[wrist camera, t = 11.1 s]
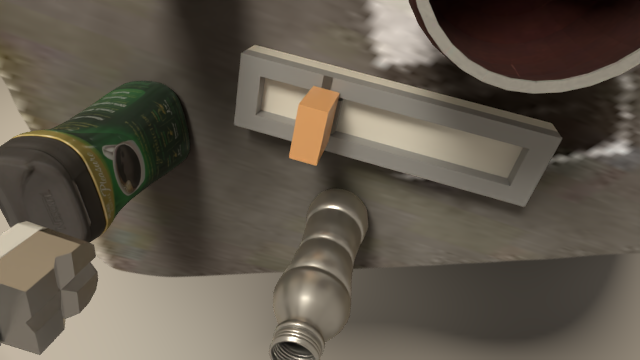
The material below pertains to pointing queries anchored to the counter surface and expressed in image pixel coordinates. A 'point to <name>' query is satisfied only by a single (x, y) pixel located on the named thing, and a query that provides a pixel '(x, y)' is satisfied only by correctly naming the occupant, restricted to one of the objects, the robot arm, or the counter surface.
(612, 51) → the mate gourd
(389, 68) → the counter surface
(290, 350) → the silver ridged bottle
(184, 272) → the counter surface
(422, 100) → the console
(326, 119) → the fader knob
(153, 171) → the coffee jar
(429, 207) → the counter surface
